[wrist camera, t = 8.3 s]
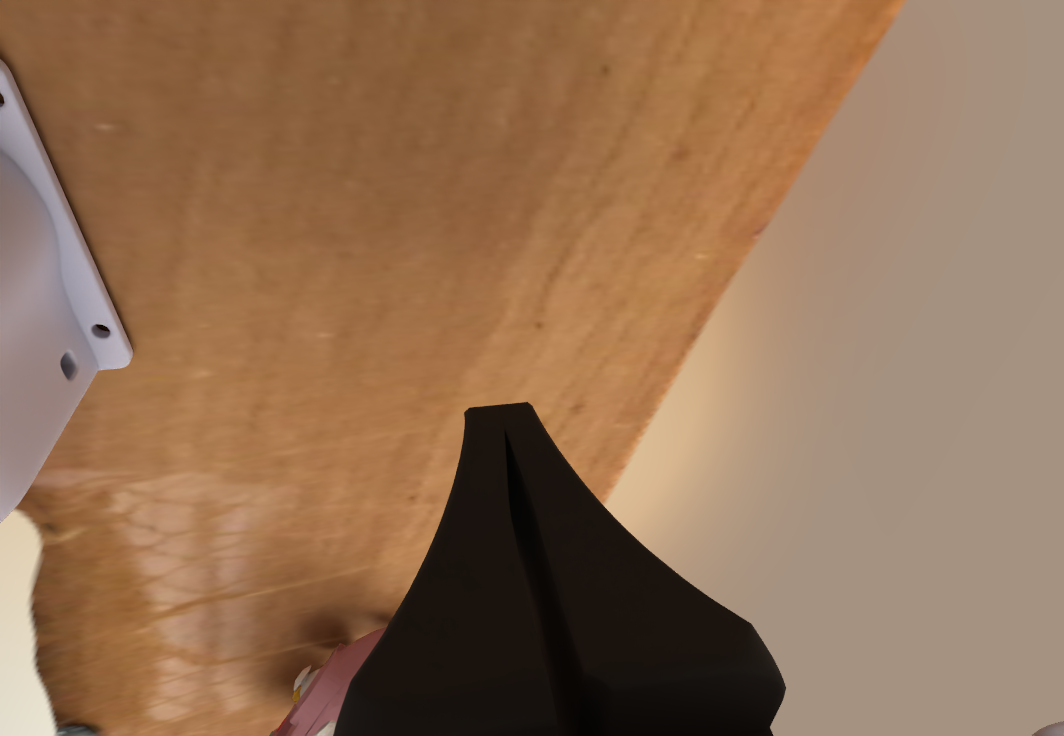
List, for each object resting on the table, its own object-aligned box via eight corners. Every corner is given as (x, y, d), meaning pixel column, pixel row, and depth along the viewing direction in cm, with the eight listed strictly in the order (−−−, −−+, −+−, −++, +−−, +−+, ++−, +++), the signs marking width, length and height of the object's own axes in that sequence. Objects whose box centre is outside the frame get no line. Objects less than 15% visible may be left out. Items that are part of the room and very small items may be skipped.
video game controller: (362, 583, 34) (283, 697, 27) (436, 634, 34) (375, 759, 27) (291, 682, 38) (210, 800, 32) (357, 727, 38) (288, 853, 32)
